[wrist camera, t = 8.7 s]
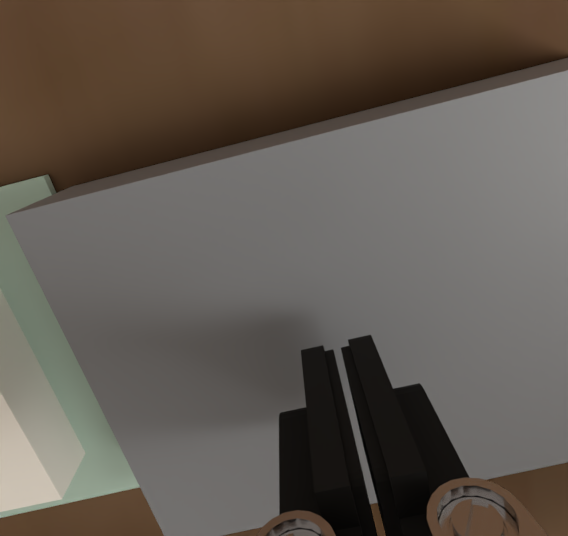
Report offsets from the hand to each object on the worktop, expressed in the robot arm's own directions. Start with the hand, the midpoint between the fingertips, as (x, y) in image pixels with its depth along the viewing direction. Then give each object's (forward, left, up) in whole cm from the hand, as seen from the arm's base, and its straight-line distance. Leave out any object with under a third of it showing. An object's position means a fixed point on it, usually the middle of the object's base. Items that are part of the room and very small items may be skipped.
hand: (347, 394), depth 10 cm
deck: (-1, 0, -5) cm, 5 cm away
